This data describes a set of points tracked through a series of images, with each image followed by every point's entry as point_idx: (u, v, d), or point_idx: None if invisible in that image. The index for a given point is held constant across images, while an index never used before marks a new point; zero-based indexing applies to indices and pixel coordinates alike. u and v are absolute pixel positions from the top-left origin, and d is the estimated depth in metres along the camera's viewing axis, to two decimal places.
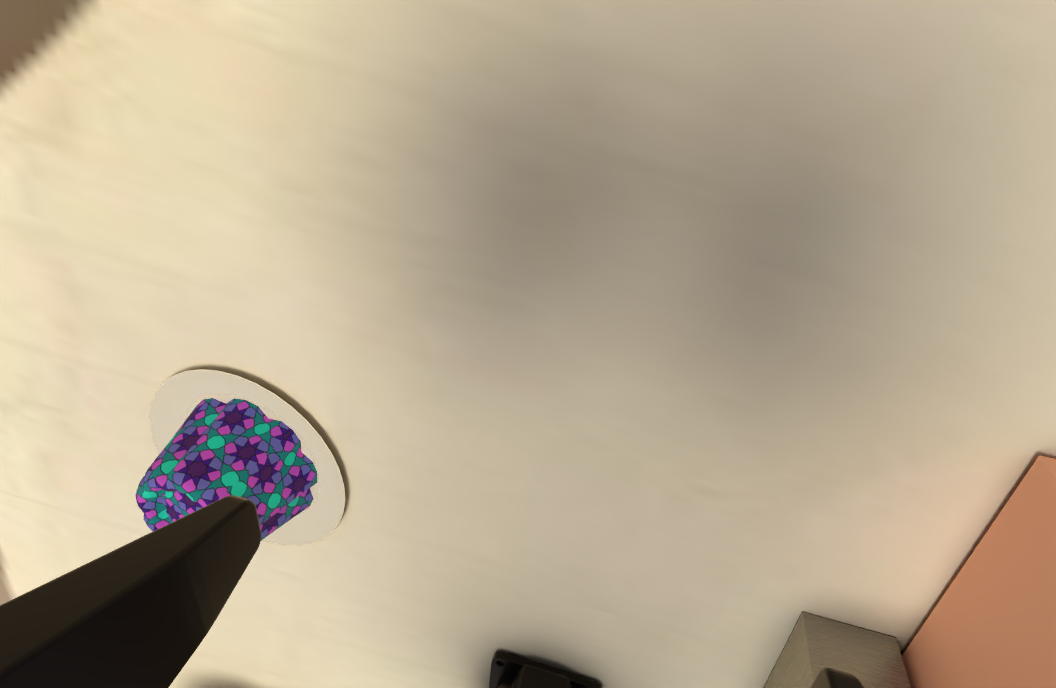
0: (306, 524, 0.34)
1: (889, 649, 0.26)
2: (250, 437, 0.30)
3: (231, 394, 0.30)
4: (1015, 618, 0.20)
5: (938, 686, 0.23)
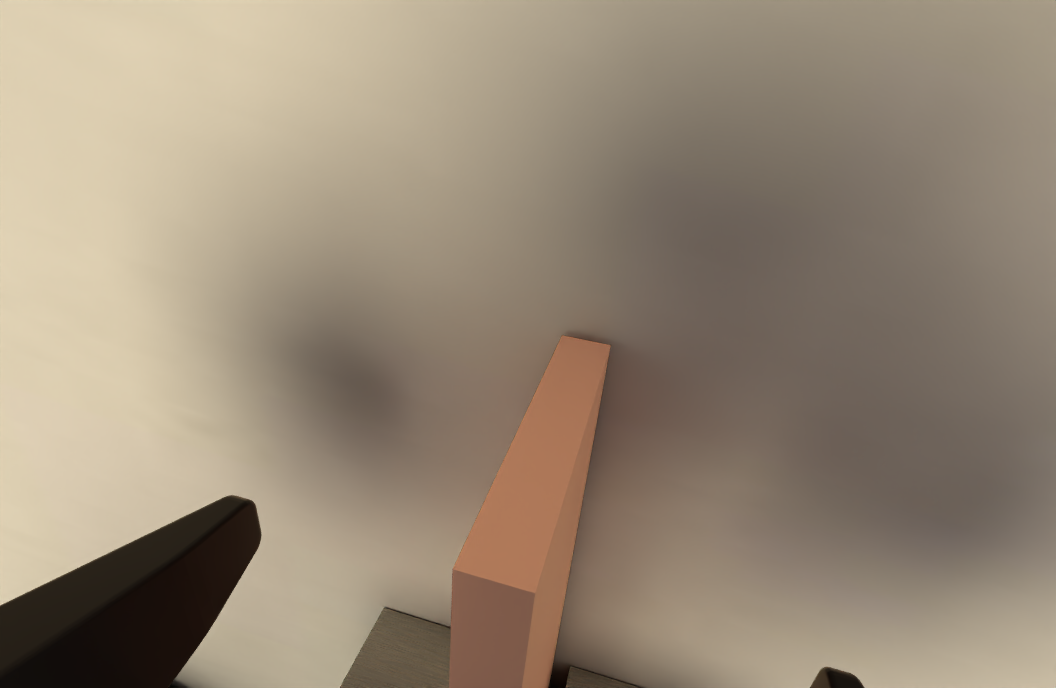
0: None
1: None
2: None
3: None
4: None
5: None
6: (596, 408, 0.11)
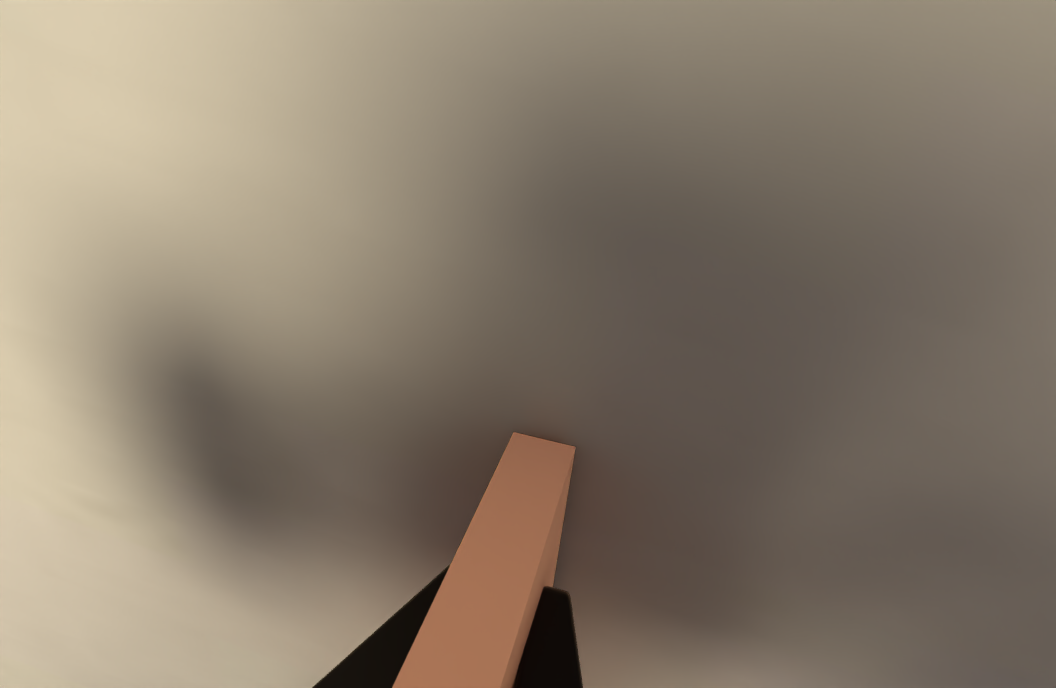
0: None
1: None
2: None
3: None
4: None
5: None
6: (555, 533, 0.09)
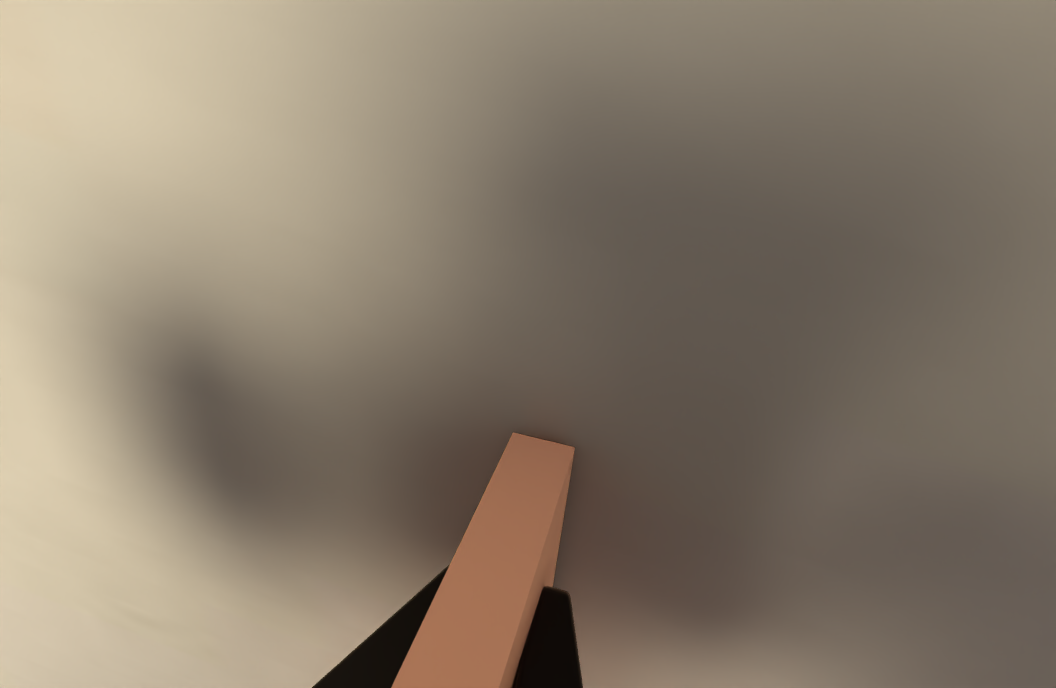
0: None
1: None
2: None
3: None
4: None
5: None
6: (554, 533, 0.09)
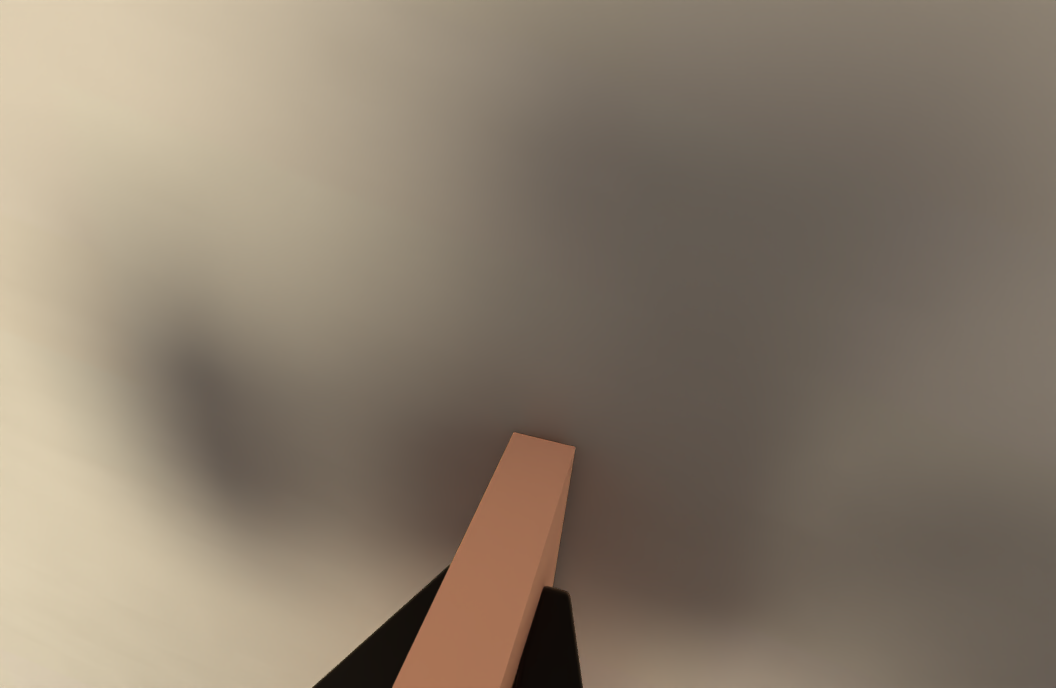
0: None
1: None
2: None
3: None
4: None
5: None
6: (555, 533, 0.09)
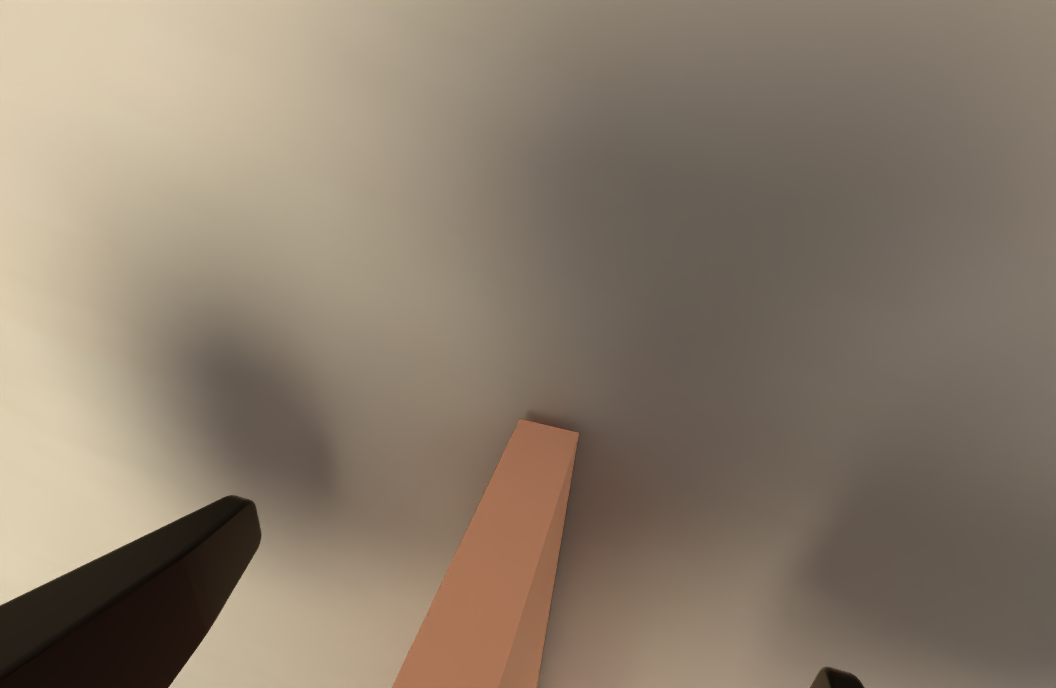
0: None
1: None
2: None
3: None
4: None
5: None
6: (560, 514, 0.09)
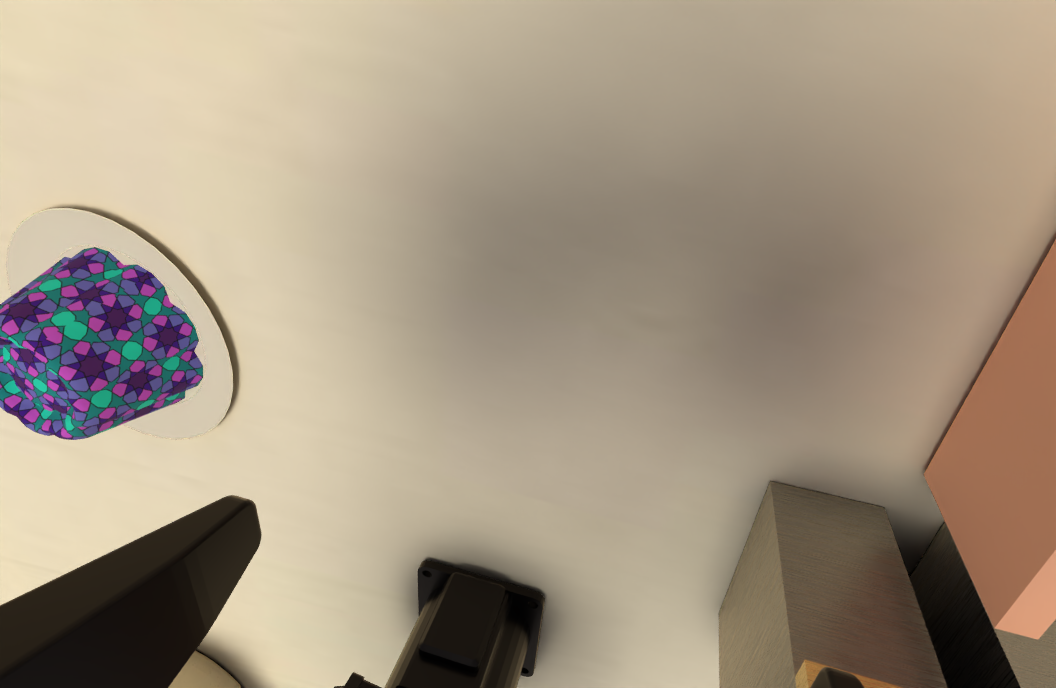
0: (207, 404, 0.29)
1: (875, 519, 0.21)
2: (98, 282, 0.25)
3: (79, 244, 0.26)
4: None
5: None
6: None
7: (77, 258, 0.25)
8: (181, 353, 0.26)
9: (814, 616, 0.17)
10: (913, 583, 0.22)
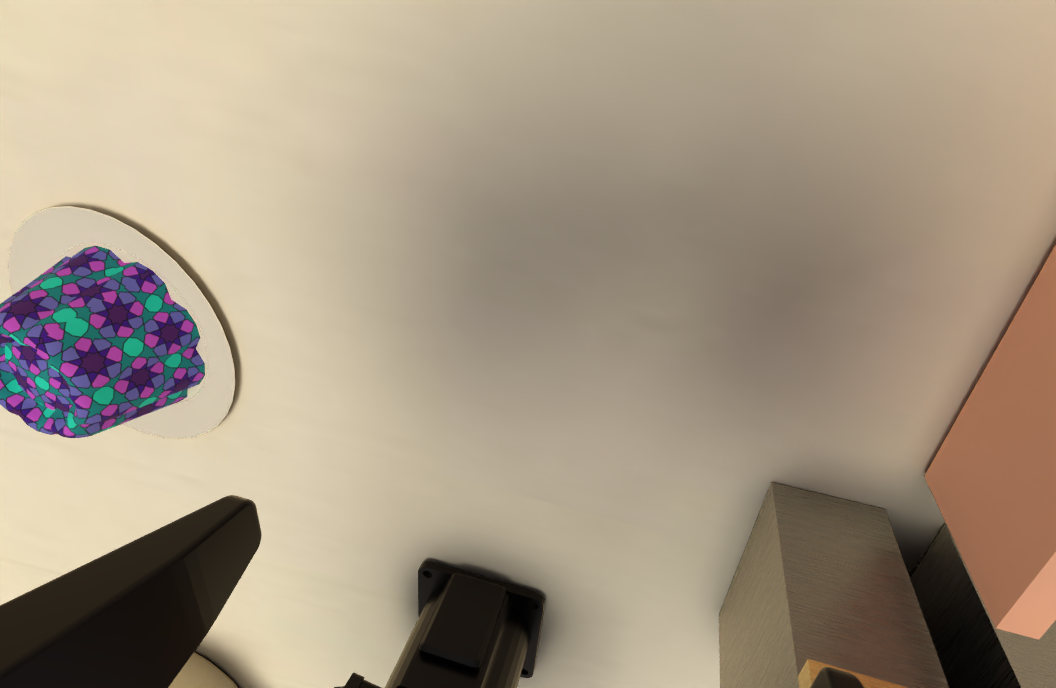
0: (209, 402, 0.28)
1: (876, 520, 0.21)
2: (99, 279, 0.25)
3: (80, 242, 0.26)
4: None
5: None
6: None
7: (78, 256, 0.25)
8: (183, 350, 0.26)
9: (816, 617, 0.17)
10: (913, 584, 0.22)
